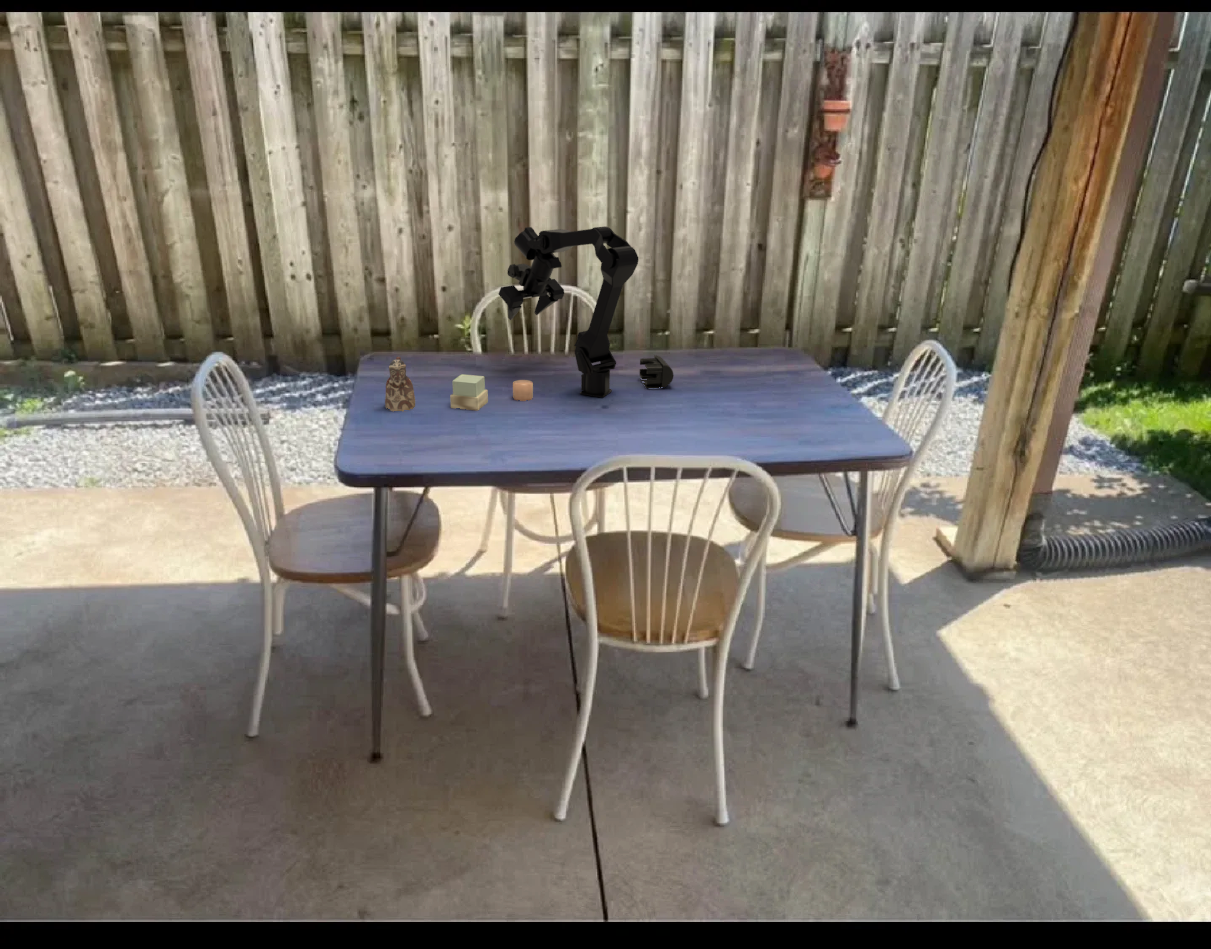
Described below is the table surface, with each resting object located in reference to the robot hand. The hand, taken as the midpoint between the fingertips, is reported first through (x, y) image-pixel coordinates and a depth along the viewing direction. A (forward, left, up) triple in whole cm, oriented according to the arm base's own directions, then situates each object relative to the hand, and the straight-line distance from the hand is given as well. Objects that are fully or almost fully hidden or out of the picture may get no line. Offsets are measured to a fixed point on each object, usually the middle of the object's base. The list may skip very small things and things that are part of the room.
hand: (522, 316), depth 241 cm
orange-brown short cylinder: (-13, +25, -15) cm, 31 cm away
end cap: (-39, -2, -15) cm, 42 cm away
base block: (-4, +36, -15) cm, 39 cm away
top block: (-4, +36, -11) cm, 38 cm away
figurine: (+10, +45, -15) cm, 48 cm away
